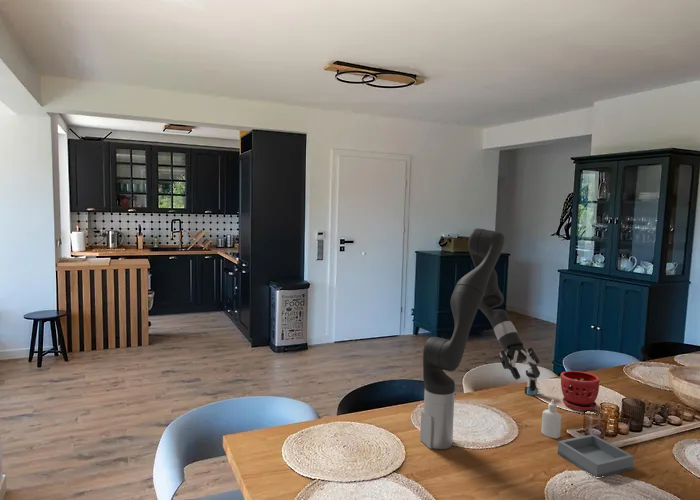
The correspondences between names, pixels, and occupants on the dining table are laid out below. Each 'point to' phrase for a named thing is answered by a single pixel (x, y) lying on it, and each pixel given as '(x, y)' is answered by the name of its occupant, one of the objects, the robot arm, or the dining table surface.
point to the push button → (531, 383)
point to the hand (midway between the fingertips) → (528, 377)
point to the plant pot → (579, 390)
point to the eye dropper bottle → (551, 421)
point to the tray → (595, 455)
